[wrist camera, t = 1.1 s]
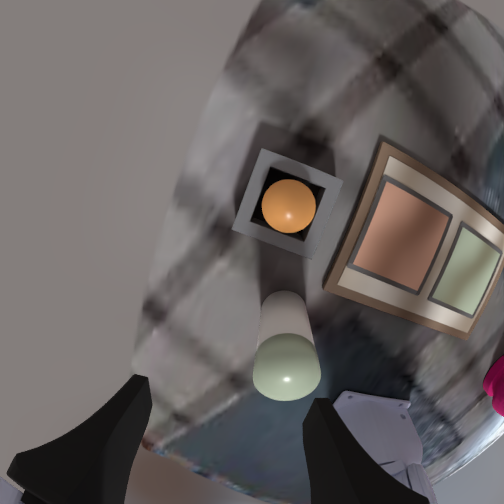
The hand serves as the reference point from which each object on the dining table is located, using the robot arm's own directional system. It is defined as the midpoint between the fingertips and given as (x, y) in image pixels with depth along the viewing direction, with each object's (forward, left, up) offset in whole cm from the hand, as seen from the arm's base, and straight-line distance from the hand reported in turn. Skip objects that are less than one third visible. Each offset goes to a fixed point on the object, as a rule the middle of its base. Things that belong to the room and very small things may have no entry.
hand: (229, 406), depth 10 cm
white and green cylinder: (-3, 0, -12) cm, 12 cm away
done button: (0, -8, -10) cm, 13 cm away
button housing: (0, -8, -12) cm, 14 cm away
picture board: (-14, -9, -12) cm, 20 cm away
